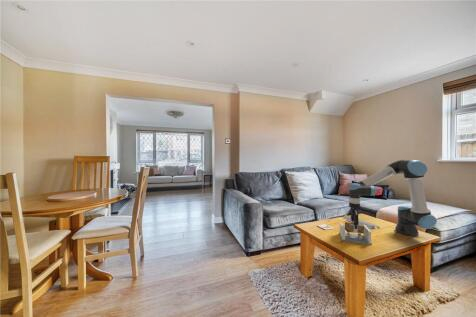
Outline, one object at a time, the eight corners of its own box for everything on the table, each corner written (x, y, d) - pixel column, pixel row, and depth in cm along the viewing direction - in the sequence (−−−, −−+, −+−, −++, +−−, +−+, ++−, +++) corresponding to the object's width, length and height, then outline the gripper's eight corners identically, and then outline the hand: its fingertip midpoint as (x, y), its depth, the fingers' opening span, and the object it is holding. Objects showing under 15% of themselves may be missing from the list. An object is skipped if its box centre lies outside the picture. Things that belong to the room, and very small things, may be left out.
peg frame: (365, 236, 153) (366, 225, 153) (371, 244, 140) (371, 231, 139) (338, 233, 160) (339, 222, 159) (342, 240, 146) (342, 228, 146)
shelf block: (360, 230, 151) (360, 223, 151) (364, 233, 145) (364, 225, 145) (344, 229, 154) (344, 222, 153) (347, 232, 148) (347, 224, 148)
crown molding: (379, 228, 171) (379, 225, 171) (369, 230, 168) (369, 226, 168) (351, 217, 201) (351, 214, 201) (342, 218, 198) (342, 215, 198)
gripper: (346, 199, 159) (346, 225, 160) (352, 205, 141) (352, 235, 142) (356, 200, 157) (356, 226, 157) (363, 206, 138) (363, 236, 139)
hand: (354, 230), depth 149 cm, fingers closed on shelf block, 6 cm apart
